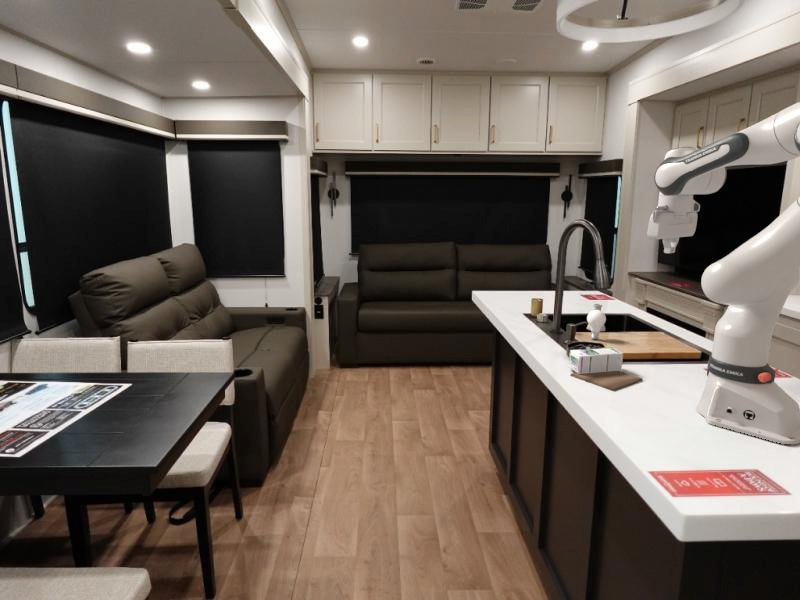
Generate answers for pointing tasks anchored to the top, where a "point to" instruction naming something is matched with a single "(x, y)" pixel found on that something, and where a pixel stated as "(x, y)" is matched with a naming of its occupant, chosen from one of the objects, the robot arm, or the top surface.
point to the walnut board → (609, 379)
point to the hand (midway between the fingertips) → (669, 252)
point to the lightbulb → (596, 322)
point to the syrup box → (595, 360)
